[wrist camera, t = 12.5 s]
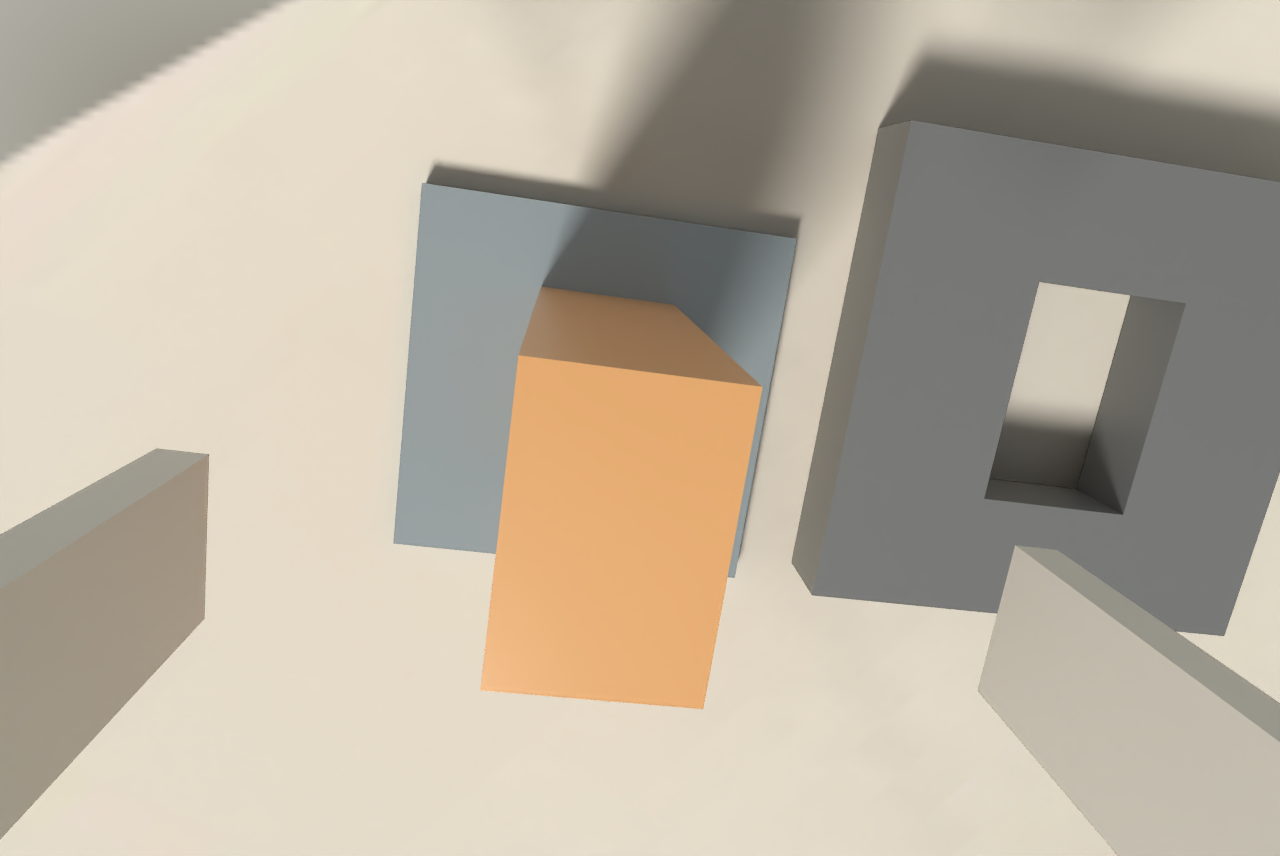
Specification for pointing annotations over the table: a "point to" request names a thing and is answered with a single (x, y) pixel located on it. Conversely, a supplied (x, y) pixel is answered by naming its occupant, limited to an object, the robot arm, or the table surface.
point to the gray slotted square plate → (987, 363)
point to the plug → (617, 503)
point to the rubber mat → (500, 314)
